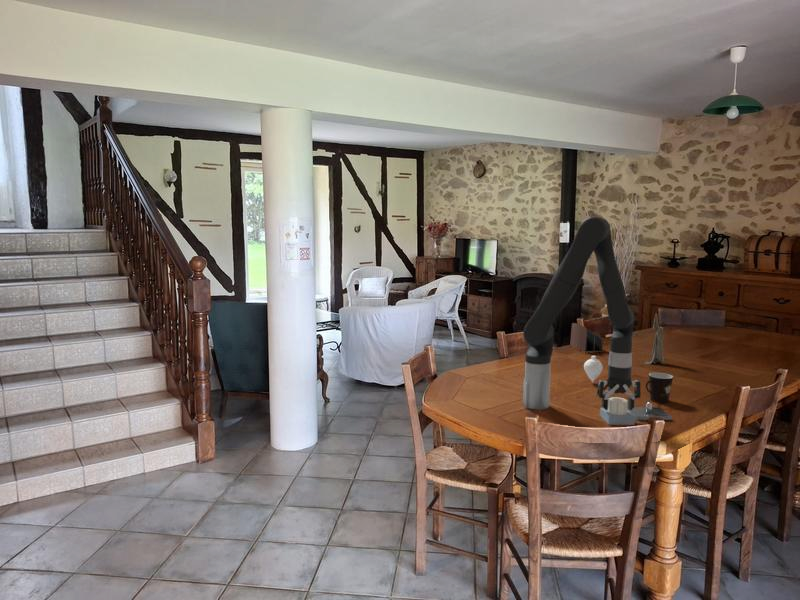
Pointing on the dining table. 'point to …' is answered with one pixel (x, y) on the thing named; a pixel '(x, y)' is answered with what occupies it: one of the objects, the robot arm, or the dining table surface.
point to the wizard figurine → (657, 344)
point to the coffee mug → (659, 387)
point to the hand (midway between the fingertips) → (617, 409)
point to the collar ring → (617, 406)
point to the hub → (649, 412)
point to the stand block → (617, 418)
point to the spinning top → (593, 368)
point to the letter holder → (585, 339)
